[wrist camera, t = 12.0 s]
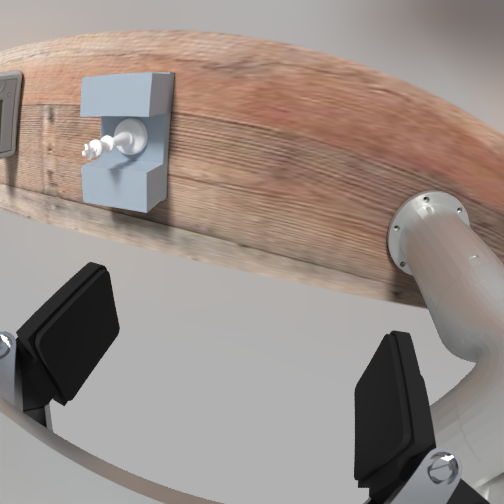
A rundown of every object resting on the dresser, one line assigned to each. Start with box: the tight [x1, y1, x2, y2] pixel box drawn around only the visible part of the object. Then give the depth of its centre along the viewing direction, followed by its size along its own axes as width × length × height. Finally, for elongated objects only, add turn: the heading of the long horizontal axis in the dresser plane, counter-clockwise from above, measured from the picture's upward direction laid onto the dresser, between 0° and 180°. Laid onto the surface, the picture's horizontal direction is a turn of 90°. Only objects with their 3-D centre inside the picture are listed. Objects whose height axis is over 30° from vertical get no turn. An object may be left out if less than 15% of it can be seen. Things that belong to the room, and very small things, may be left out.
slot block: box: [80, 72, 175, 213], centre depth 34 cm, size 10×17×6 cm, turn 172°
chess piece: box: [82, 118, 148, 160], centre depth 31 cm, size 5×5×10 cm
